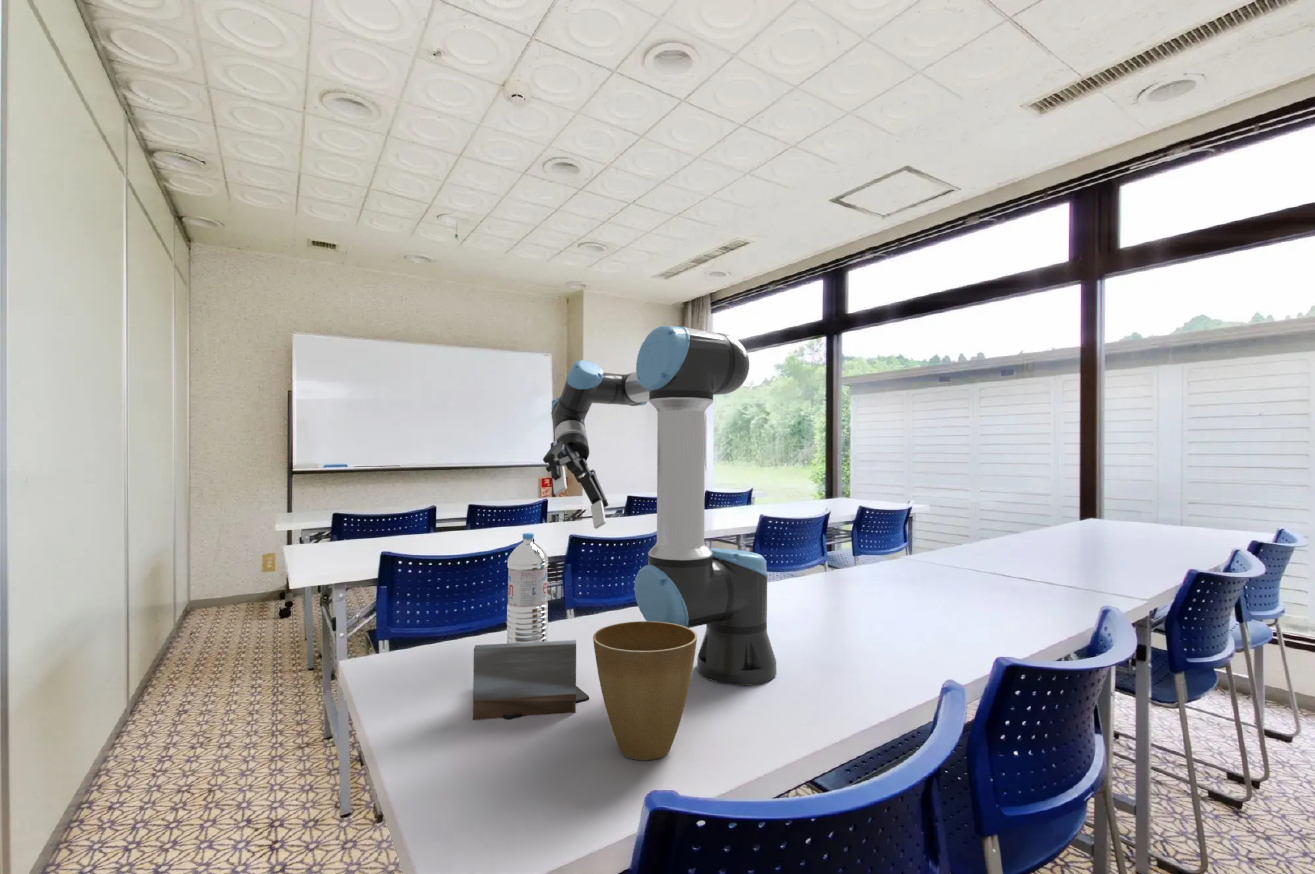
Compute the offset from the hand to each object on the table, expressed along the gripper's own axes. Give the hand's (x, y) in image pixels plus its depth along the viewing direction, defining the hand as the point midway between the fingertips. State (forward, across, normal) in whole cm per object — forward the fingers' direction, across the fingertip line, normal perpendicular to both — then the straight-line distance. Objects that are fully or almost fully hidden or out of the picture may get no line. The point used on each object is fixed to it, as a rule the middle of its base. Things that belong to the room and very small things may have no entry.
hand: (581, 509), depth 120 cm
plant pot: (+49, -2, +4) cm, 49 cm away
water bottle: (+31, 0, -16) cm, 34 cm away
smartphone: (+34, -3, -14) cm, 38 cm away
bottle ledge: (+32, -2, -17) cm, 37 cm away
